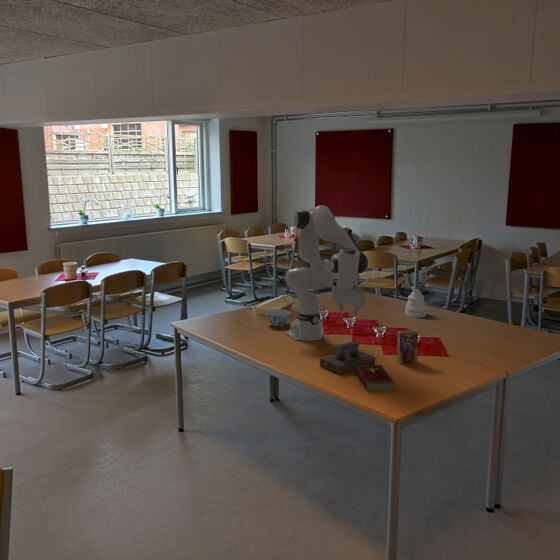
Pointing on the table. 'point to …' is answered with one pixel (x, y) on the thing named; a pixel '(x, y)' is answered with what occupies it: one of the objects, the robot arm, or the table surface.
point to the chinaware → (278, 317)
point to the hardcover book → (374, 377)
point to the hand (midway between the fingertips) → (348, 313)
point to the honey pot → (415, 304)
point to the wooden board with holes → (346, 362)
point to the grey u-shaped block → (345, 347)
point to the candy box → (407, 347)
